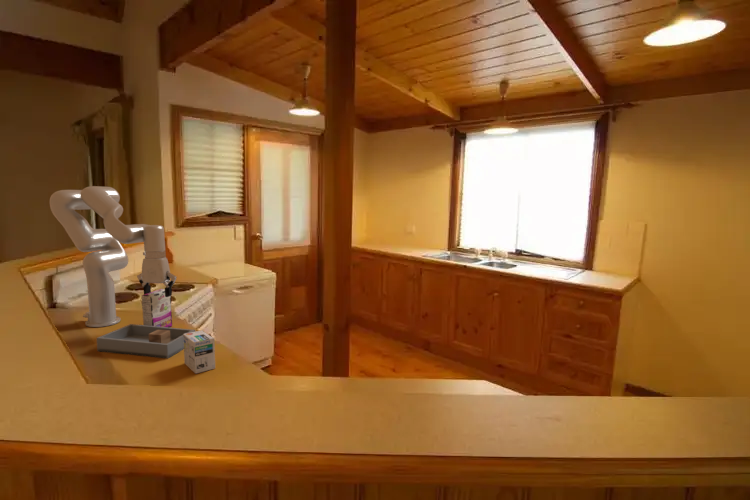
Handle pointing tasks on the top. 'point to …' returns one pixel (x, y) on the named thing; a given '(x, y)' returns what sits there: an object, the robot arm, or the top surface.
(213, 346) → the light bulb box
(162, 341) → the walnut cube
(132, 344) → the tote
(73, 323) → the top surface
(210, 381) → the top surface
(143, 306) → the candy bar box
